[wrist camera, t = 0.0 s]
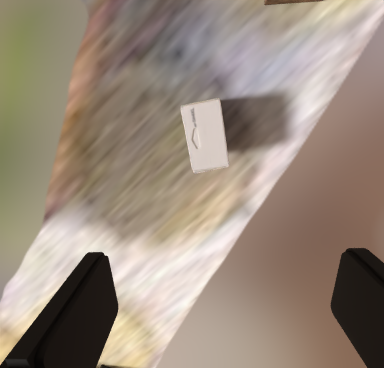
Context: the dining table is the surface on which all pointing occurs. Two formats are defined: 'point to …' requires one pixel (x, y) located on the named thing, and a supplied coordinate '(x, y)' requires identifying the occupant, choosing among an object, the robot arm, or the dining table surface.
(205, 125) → the ink box
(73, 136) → the dining table surface
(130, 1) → the dining table surface
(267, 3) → the walnut hole block
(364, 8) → the dining table surface
